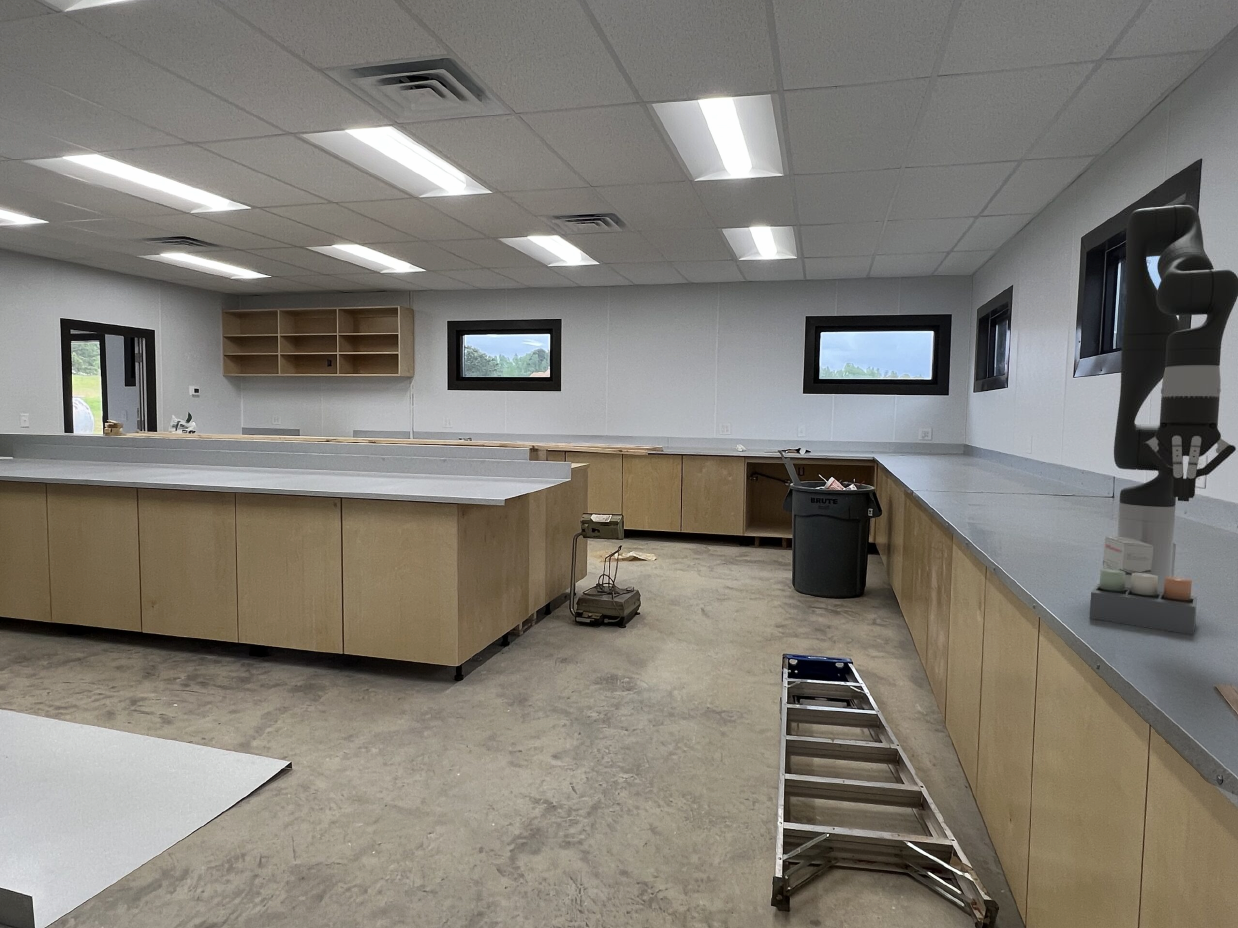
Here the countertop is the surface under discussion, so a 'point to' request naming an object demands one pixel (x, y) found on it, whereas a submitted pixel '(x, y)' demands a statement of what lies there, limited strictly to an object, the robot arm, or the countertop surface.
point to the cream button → (1144, 584)
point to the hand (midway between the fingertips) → (1183, 500)
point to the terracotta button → (1177, 588)
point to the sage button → (1112, 579)
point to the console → (1144, 610)
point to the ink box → (1127, 556)
